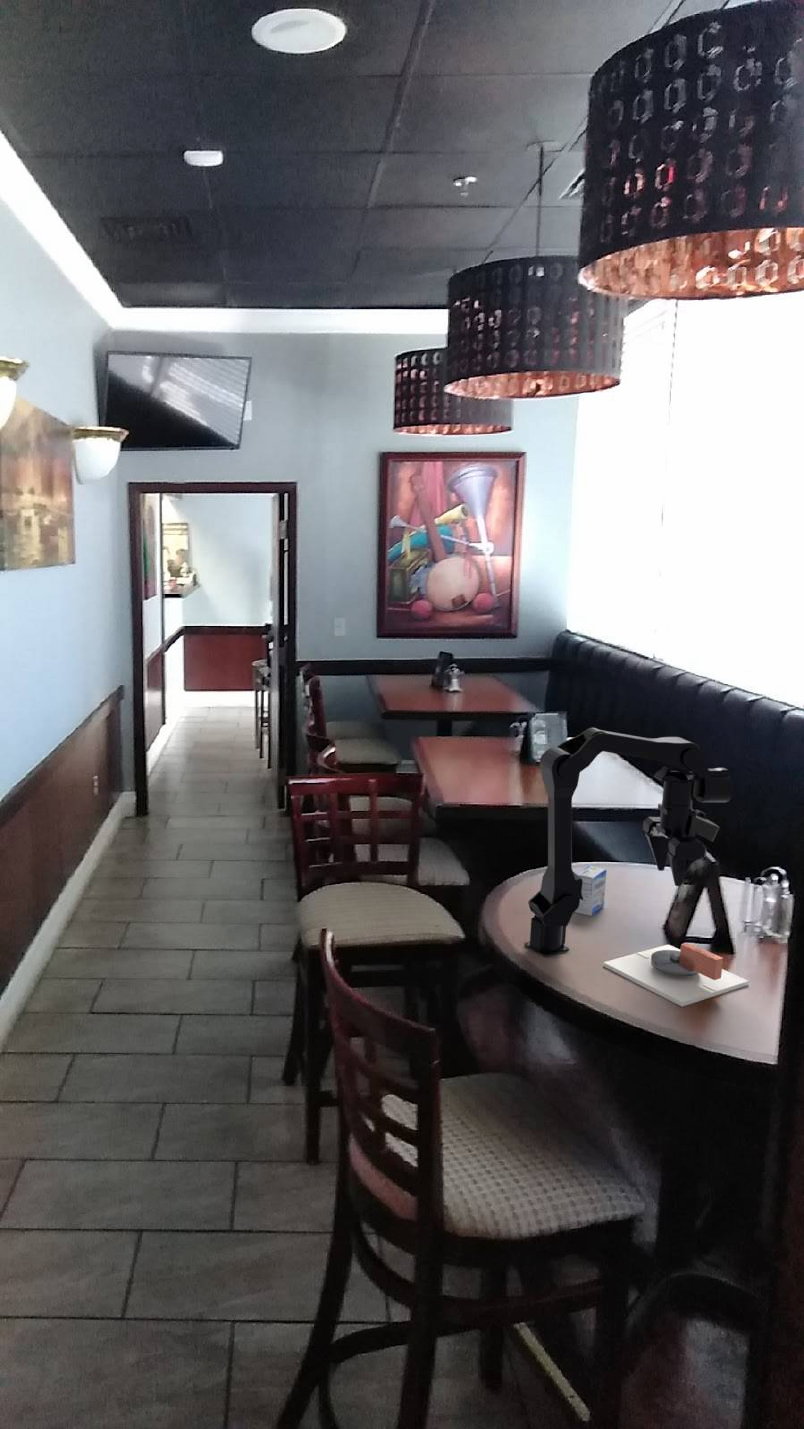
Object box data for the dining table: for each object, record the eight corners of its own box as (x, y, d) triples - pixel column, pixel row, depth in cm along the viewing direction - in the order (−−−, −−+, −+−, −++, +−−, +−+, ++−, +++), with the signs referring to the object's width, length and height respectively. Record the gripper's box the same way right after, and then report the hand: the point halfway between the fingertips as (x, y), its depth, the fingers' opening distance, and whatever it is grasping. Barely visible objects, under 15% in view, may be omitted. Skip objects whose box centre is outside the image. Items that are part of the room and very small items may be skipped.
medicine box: (591, 916, 214) (594, 878, 213) (571, 912, 217) (574, 873, 215) (604, 906, 221) (607, 869, 219) (585, 902, 223) (588, 864, 222)
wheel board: (682, 1006, 174) (682, 998, 173) (603, 966, 189) (603, 958, 189) (748, 984, 184) (748, 977, 183) (668, 948, 199) (668, 941, 199)
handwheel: (700, 990, 176) (703, 964, 175) (640, 961, 187) (642, 936, 186) (733, 980, 181) (736, 954, 180) (673, 952, 192) (675, 927, 191)
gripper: (736, 816, 188) (727, 894, 191) (697, 791, 207) (689, 863, 209) (679, 814, 187) (671, 894, 190) (645, 790, 205) (638, 862, 208)
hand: (669, 877), depth 199 cm, fingers open, 9 cm apart
